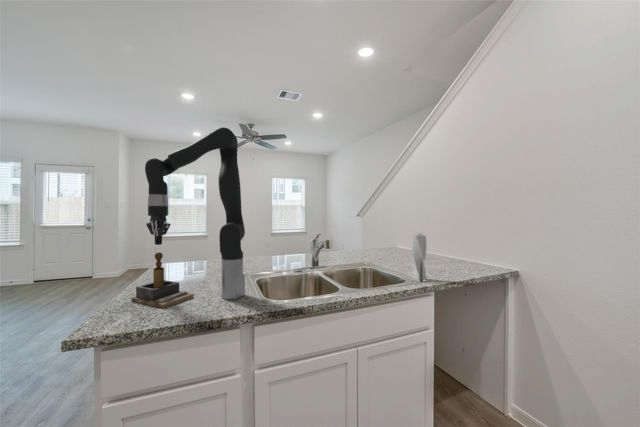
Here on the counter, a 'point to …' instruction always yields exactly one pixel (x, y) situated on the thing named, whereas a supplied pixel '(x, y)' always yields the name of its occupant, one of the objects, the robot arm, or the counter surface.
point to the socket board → (160, 295)
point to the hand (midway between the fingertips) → (158, 244)
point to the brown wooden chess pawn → (158, 272)
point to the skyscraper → (419, 256)
